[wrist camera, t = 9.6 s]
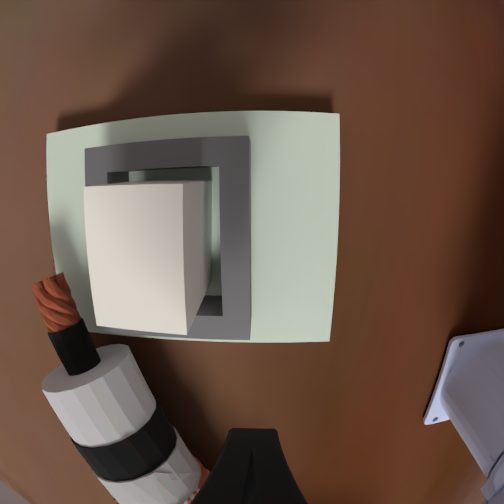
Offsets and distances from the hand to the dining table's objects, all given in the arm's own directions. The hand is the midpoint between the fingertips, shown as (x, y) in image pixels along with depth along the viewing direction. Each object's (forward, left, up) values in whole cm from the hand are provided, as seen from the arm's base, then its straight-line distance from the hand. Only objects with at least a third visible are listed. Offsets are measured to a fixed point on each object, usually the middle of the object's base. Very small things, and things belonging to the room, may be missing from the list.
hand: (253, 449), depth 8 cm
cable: (+6, +13, -10) cm, 17 cm away
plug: (+4, -5, -9) cm, 11 cm away
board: (+4, -5, -10) cm, 12 cm away
